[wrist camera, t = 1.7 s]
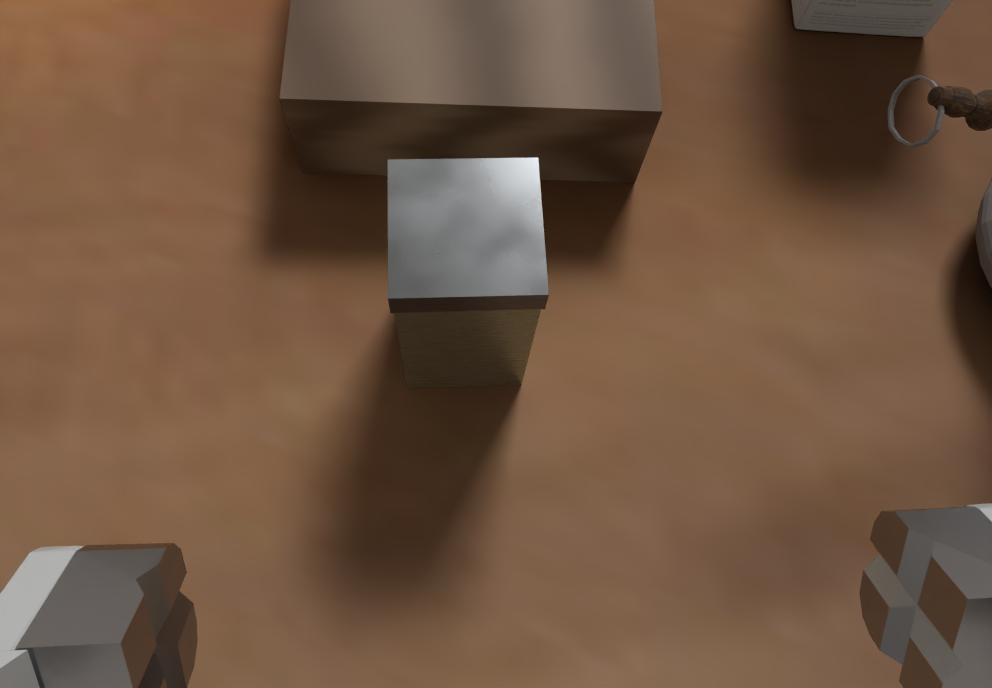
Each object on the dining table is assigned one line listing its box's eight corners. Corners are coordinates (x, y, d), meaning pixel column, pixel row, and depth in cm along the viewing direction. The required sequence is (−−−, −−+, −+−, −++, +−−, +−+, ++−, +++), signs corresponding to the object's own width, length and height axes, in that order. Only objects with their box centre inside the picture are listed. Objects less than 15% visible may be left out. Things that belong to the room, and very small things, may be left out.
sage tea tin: (404, 390, 36) (388, 298, 27) (403, 281, 38) (387, 159, 28) (523, 386, 36) (548, 294, 27) (517, 279, 38) (538, 157, 29)
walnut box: (303, 176, 40) (279, 98, 34) (325, -48, 45) (307, -149, 39) (633, 186, 40) (662, 111, 35) (619, -36, 45) (643, -133, 40)
